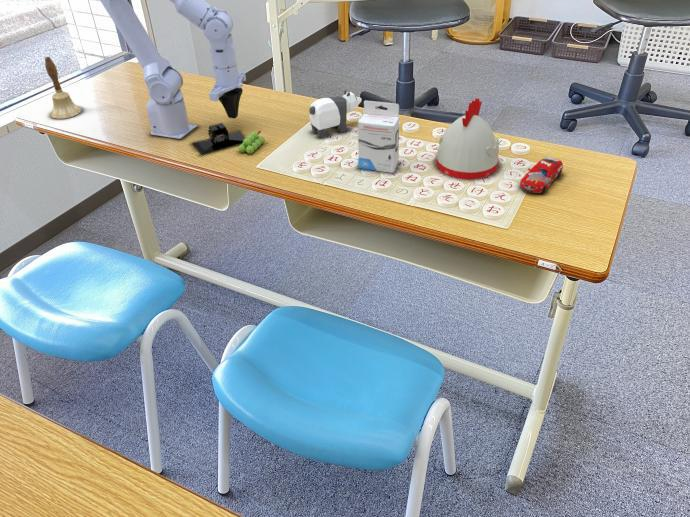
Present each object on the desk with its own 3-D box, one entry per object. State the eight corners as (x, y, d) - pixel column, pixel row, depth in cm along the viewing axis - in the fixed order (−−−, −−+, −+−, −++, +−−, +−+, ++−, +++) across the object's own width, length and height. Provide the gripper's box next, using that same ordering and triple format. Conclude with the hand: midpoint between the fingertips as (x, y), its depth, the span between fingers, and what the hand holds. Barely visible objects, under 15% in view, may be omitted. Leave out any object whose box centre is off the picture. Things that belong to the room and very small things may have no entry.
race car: (538, 198, 123) (541, 182, 120) (515, 190, 126) (517, 174, 123) (566, 173, 131) (569, 157, 128) (543, 166, 133) (546, 150, 131)
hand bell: (87, 110, 169) (69, 54, 159) (63, 121, 163) (43, 64, 154) (69, 105, 172) (50, 50, 163) (44, 115, 167) (23, 59, 157)
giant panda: (316, 140, 148) (314, 104, 142) (307, 132, 152) (304, 96, 146) (366, 126, 153) (366, 90, 148) (356, 118, 157) (355, 84, 152)
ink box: (357, 169, 136) (356, 108, 127) (363, 159, 139) (362, 99, 130) (393, 173, 133) (394, 112, 124) (399, 163, 137) (400, 103, 128)
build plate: (201, 155, 144) (197, 138, 141) (192, 144, 149) (188, 127, 146) (248, 142, 149) (245, 125, 146) (237, 131, 154) (234, 115, 151)
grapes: (237, 153, 144) (235, 140, 142) (254, 138, 150) (252, 125, 148) (252, 155, 143) (250, 142, 141) (268, 140, 149) (266, 127, 147)
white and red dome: (506, 158, 137) (515, 96, 128) (483, 184, 128) (490, 120, 119) (451, 145, 143) (456, 85, 134) (425, 169, 134) (429, 107, 125)
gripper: (223, 77, 137) (232, 130, 146) (253, 56, 148) (259, 108, 156) (197, 74, 139) (207, 127, 148) (228, 54, 150) (236, 104, 158)
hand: (233, 117), depth 152 cm, fingers closed
